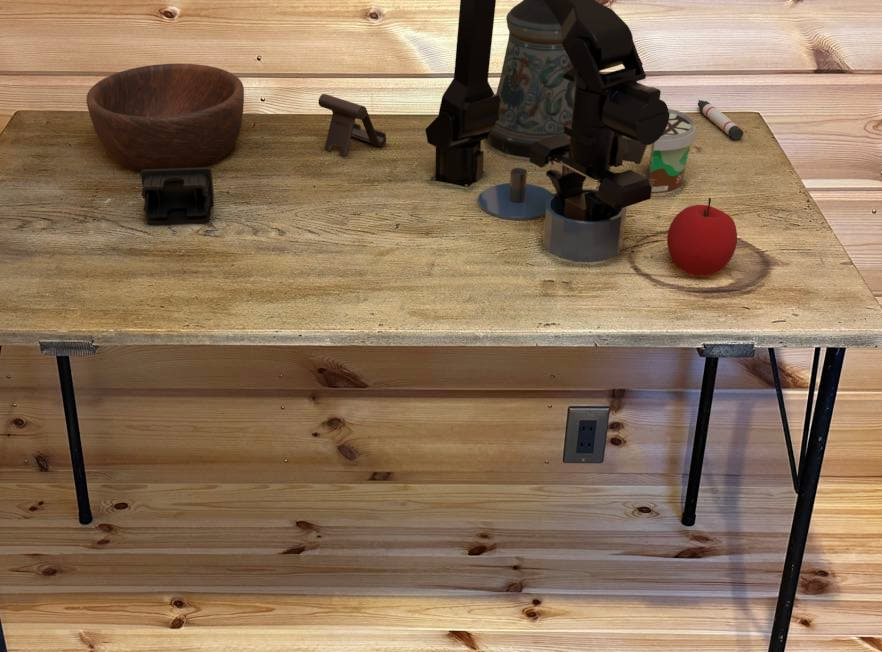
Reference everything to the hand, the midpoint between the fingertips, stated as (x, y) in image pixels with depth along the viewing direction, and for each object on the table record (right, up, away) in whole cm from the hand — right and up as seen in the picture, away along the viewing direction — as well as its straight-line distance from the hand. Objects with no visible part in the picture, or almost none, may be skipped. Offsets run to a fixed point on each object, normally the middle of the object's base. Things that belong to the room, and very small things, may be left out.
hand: (583, 227), depth 164 cm
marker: (+29, +23, +37) cm, 53 cm away
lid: (-8, +6, +12) cm, 15 cm away
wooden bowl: (-62, +17, +32) cm, 72 cm away
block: (0, -1, +1) cm, 1 cm away
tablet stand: (-33, +18, +32) cm, 49 cm away
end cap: (-58, +4, +12) cm, 59 cm away
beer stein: (-2, +19, +33) cm, 38 cm away
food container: (+16, +9, +18) cm, 26 cm away
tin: (0, -2, +2) cm, 3 cm away
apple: (+15, -6, -4) cm, 16 cm away
